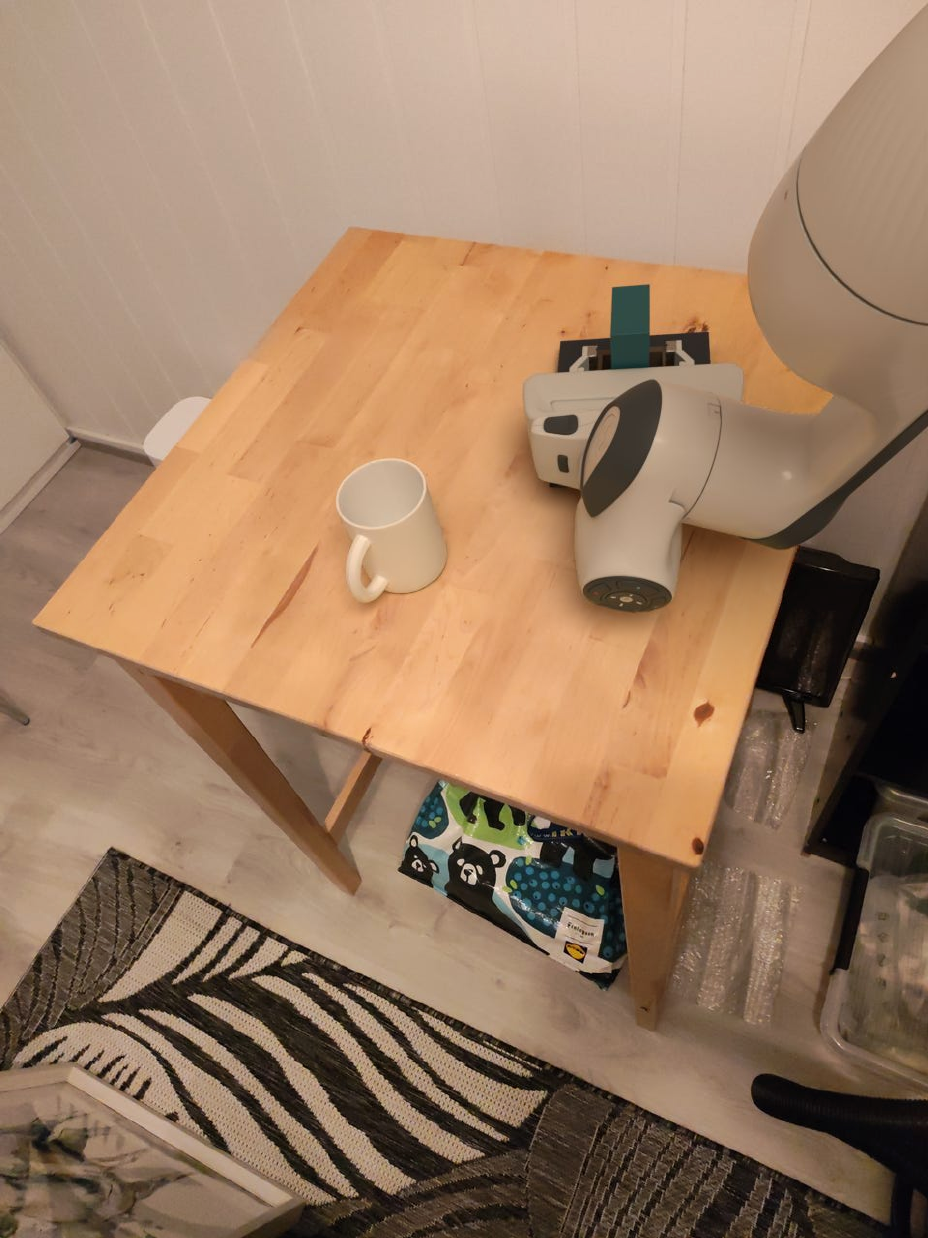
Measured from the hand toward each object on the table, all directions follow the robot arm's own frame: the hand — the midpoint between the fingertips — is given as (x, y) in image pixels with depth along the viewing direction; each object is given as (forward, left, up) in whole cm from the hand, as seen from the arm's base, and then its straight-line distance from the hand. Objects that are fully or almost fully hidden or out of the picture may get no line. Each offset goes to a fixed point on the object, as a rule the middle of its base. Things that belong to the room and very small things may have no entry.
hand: (631, 348), depth 79 cm
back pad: (0, +1, -6) cm, 6 cm away
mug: (+22, +22, -8) cm, 32 cm away
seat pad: (0, +1, -8) cm, 8 cm away
